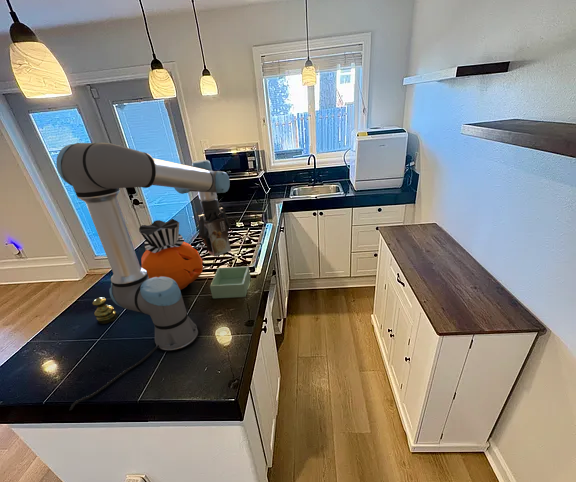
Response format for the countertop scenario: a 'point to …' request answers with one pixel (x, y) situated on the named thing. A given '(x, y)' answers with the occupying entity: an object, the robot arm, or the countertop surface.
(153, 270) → the jack-o'-lantern
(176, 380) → the countertop surface
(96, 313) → the brass knobbed piece
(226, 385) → the countertop surface
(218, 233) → the coffee box
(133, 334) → the countertop surface
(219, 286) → the tote
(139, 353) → the countertop surface
